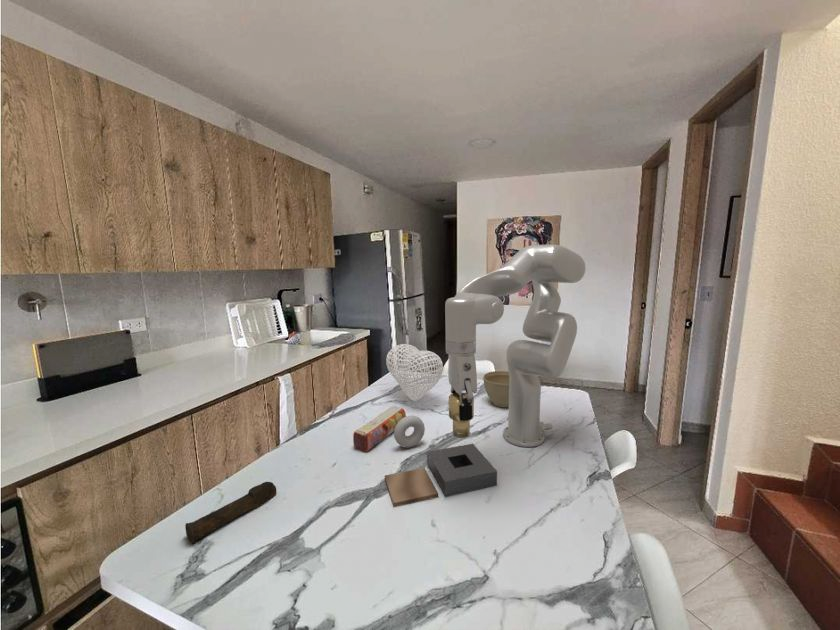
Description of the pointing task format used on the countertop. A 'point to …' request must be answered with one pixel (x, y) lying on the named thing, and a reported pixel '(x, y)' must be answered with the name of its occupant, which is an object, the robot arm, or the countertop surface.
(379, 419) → the snack package
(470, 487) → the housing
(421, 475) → the board
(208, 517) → the hand tool
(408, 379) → the heart
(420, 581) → the countertop surface
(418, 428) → the donut
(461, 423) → the end cover
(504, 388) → the planter bowl
